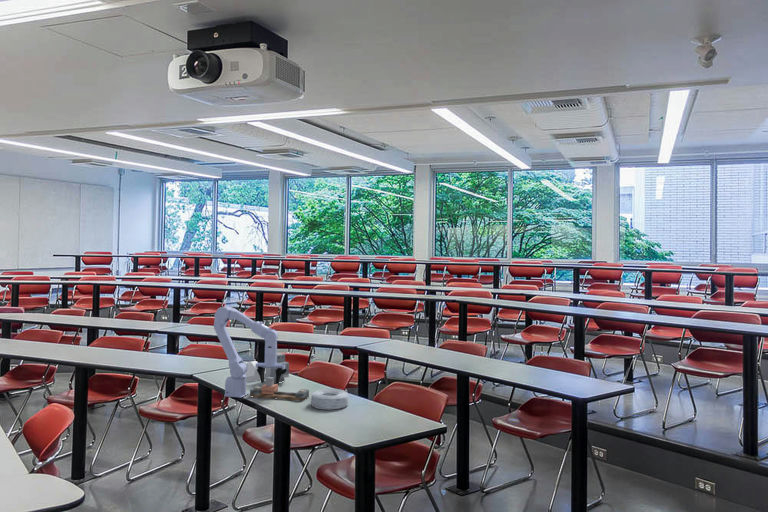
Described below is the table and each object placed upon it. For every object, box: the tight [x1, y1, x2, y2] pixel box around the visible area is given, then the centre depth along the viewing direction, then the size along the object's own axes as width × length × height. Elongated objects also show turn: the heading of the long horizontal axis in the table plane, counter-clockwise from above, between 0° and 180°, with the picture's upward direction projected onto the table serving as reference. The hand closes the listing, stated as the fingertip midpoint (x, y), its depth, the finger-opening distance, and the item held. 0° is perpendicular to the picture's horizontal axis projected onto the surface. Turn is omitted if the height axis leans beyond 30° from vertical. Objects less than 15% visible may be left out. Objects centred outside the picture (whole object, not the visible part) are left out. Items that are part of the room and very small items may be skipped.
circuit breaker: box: [264, 352, 290, 383], centre depth 293 cm, size 8×14×15 cm, turn 40°
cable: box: [310, 388, 350, 411], centre depth 252 cm, size 18×18×6 cm
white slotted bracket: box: [245, 360, 266, 383], centre depth 300 cm, size 10×18×10 cm, turn 133°
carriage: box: [261, 377, 279, 394], centre depth 265 cm, size 6×6×7 cm
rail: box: [249, 385, 310, 402], centre depth 264 cm, size 27×8×4 cm, turn 79°
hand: (270, 383), depth 265 cm, fingers open, 7 cm apart
